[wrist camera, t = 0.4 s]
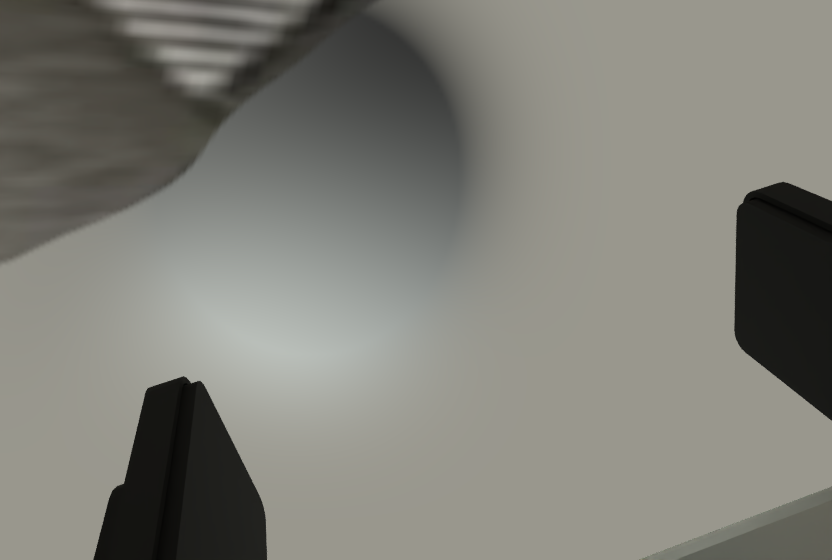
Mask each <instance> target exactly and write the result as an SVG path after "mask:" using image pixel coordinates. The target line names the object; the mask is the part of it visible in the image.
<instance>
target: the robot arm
mask: <svg viewBox="0 0 832 560" xmlns="http://www.w3.org/2000/svg"><path fill="white" fill-rule="evenodd" d="M735 277H736V278H735V329H734V331H735V337H736V340H737V341H738V344H739V346H740V347H741V348H742V349H743V350H744V351H745V352H746V353H747V354H748V355H749V356H751V357H752V358H753V359H754V360H756V361H757V362H758V363H760V364H761V365H762V366H763V367H765V368H766V369H767V370H768V371H770V372H771V373H772V374H773V375H775V376H776V377H777V378H779V379H780V380H781V381H782V382H784V383H785V384H786V385H787V386H789V387H790V388H791V389H792V390H794V391H795V392H796V393H798V394H799V395H800V396H801V397H803V398H804V399H805V400H806V401H808V402H809V403H810V404H812V405H813V406H814V407H815V408H816V409H818V410H819V411H820V412H821V413H823V414H824V415H825V416H827V417H828V418H829V419H830V420H832V201H830V200H828V199H825V198H823V197H820V196H818V195H816V194H813V193H811V192H808V191H806V190H804V189H801V188H799V187H796V186H794V185H791V184H789V183H785V182H781V183H777V184H773V185H771V186H768V187H764V188H761V189H758V190H755V191H752V192H750V193H748V194H747V195H746V197H745V198H744V201H743V203H742V204H741V205H740V206H739V207H738V209H737V225H736V276H735ZM94 560H267V546H266V519H265V512H264V507H263V504H262V501H261V498H260V496H259V494H258V492H257V490H256V488H255V486H254V484H253V482H252V480H251V478H250V476H249V474H248V472H247V470H246V468H245V466H244V464H243V462H242V460H241V458H240V456H239V454H238V452H237V450H236V448H235V446H234V444H233V442H232V440H231V438H230V436H229V434H228V432H227V430H226V428H225V426H224V424H223V422H222V420H221V418H220V416H219V414H218V412H217V410H216V408H215V406H214V404H213V402H212V400H211V398H210V396H209V394H208V392H207V390H206V388H205V386H204V384H203V383H202V382H201V381H197V382H194V383H190V381H189V380H188V379H187V378H186V377H184V376H183V377H180V378H177V379H174V380H171V381H168V382H165V383H162V384H159V385H156V386H153V387H150V388H148V389H147V391H146V393H145V397H144V402H143V406H142V410H141V414H140V418H139V423H138V427H137V431H136V435H135V440H134V444H133V448H132V452H131V457H130V461H129V465H128V470H127V474H126V478H125V482H124V484H122V485H119V486H117V487H116V488H115V489H114V490H113V491H112V493H111V496H110V498H109V502H108V505H107V509H106V513H105V517H104V521H103V525H102V529H101V532H100V536H99V540H98V544H97V548H96V552H95V556H94ZM640 560H832V487H830V488H827V489H824V490H822V491H819V492H816V493H814V494H811V495H808V496H806V497H803V498H800V499H798V500H795V501H792V502H790V503H787V504H785V505H782V506H779V507H777V508H774V509H772V510H769V511H766V512H763V513H761V514H758V515H755V516H753V517H750V518H748V519H745V520H742V521H740V522H737V523H735V524H732V525H729V526H726V527H724V528H721V529H718V530H716V531H713V532H710V533H708V534H705V535H703V536H700V537H698V538H695V539H692V540H689V541H687V542H684V543H682V544H679V545H676V546H674V547H671V548H669V549H666V550H664V551H661V552H658V553H655V554H653V555H650V556H647V557H645V558H642V559H640Z"/></svg>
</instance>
